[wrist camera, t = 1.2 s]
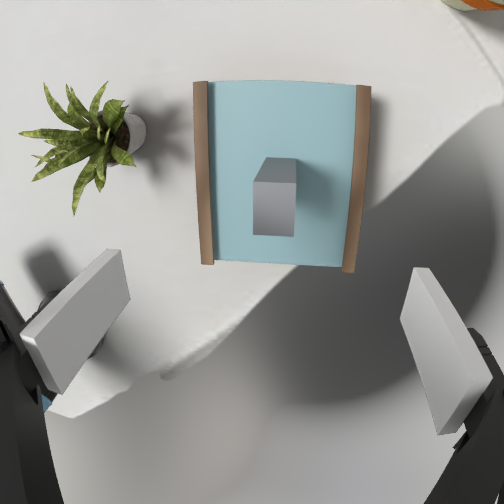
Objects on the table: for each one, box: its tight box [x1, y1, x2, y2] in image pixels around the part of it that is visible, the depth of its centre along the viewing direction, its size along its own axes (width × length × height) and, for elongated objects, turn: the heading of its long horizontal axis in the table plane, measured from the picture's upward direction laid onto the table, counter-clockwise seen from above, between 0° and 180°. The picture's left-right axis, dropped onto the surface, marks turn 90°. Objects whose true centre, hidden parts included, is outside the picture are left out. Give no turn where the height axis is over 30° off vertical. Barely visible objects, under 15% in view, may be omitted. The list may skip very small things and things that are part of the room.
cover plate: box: [208, 80, 356, 267], centre depth 28 cm, size 15×20×12 cm
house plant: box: [18, 81, 147, 217], centre depth 31 cm, size 14×14×16 cm
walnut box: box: [193, 81, 371, 273], centre depth 35 cm, size 17×20×8 cm
